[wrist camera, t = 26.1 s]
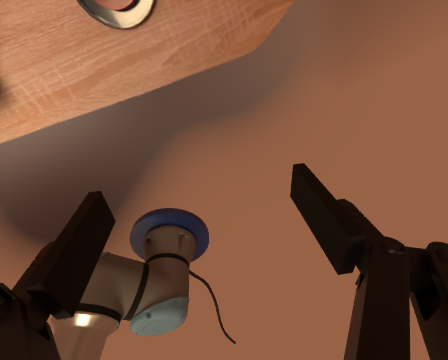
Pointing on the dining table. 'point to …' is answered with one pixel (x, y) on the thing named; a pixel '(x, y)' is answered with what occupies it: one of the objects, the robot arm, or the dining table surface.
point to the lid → (116, 4)
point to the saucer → (119, 13)
